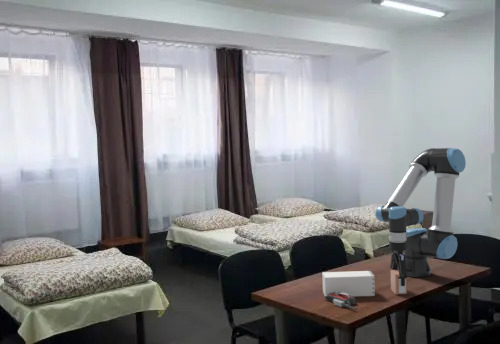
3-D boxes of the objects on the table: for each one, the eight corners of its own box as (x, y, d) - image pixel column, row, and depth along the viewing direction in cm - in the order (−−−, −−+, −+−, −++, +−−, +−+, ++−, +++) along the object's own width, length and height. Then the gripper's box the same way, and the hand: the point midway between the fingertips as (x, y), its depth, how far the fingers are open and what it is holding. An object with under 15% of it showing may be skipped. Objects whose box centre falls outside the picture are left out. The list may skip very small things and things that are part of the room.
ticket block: (370, 289, 239) (369, 270, 239) (374, 295, 230) (374, 275, 230) (322, 291, 239) (322, 272, 239) (325, 297, 230) (325, 277, 230)
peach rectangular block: (401, 288, 239) (401, 269, 238) (406, 293, 231) (406, 274, 230) (390, 289, 239) (390, 270, 238) (395, 294, 231) (395, 274, 230)
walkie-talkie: (321, 301, 226) (354, 313, 210) (321, 291, 226) (354, 302, 210) (335, 297, 231) (369, 308, 215) (335, 287, 231) (369, 298, 215)
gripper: (383, 236, 245) (383, 281, 246) (396, 246, 222) (397, 296, 223) (398, 235, 245) (399, 281, 246) (414, 246, 221) (415, 296, 223)
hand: (398, 288), depth 235 cm, fingers open, 11 cm apart
